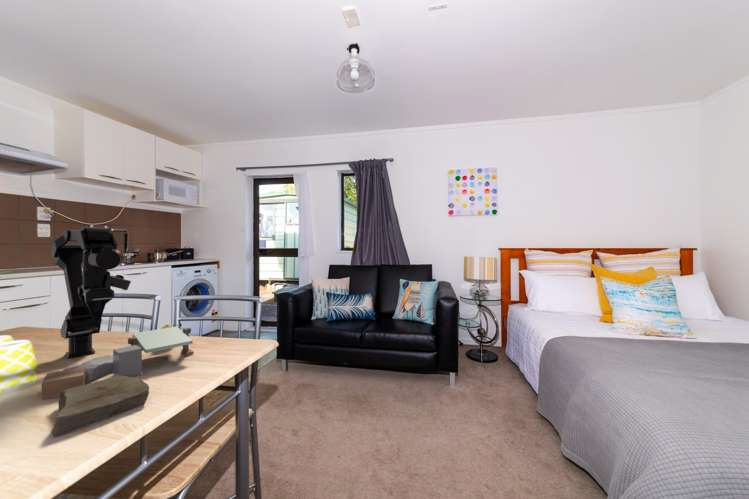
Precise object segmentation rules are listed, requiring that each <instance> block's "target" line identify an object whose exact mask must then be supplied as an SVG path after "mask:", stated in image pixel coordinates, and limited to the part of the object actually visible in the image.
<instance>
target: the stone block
mask: <svg viewBox="0 0 749 499" xmlns="http://www.w3.org/2000/svg"><path fill="white" fill-rule="evenodd" d="M80 367H86V382H92V381H95V380H97V379H100V378H102V377H104V376H106V375H109V374H110V373H113V354H108V355H104V356H98V357H95V358H91V359H89V360H86V361H84V362H81V363H80V364H75V365H73V366H69V367H66V368H64V369H62V370H68V369H74V368H80Z"/></svg>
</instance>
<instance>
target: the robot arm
mask: <svg viewBox="0 0 749 499" xmlns="http://www.w3.org/2000/svg"><path fill="white" fill-rule="evenodd" d="M68 242H78V243H77V244H75V243H69V244H68ZM117 249H118V242H117V240H116V238H115V236H114V233H113V231H111V230H110V228H108V227H98V226H97V227H93V226H91V227H90V226H82V227H80V228H78V229H72V228H71V229H65V230H64V231H63V234H62V235H61V236H60V237H58V238H56V239H54V241H53V244H52V247H51V250H50V252H51V253H50V255H51V257H52V258H53V260H54V264H55V265H56V266H57V267H58V268H60V269H62V271H63V276H64V281H65V282H64V283H65V286H66V292H67V298H68V303H69V304H68V305H69V310H68V312H67V314H66V315H65V316H64V320H63V323H62V325H61V327H60V337H61V338H63V339H65V340H66V339H67V341H68V345H67V346H68V349H67V351H66V352H65V356H66V358H68V359H70V358H75V357H81V356H86V355H91V354H95V353H96V351H95V349H94V348H93V334H94V335H95V334H100V331H101V325H102V322H103V319H102V317H103V313H104V309H105V307H106V305H107V303H109V302H110V301H113V299H114V298H115V290H114V289H112V288H117V289H122V291H128V290H129V288H130V285H131V283H132V280H129V279H125V277H124V275H121V274H116V275H115V276H112V275H111V272H110V271H109V270H113V269H115V268H116V267H118V266H119V265H120V262H121V257H120V254H119V253H118V252H116V251H115V250H117ZM111 287H112V288H111Z"/></svg>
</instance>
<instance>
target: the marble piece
mask: <svg viewBox="0 0 749 499" xmlns="http://www.w3.org/2000/svg"><path fill="white" fill-rule="evenodd" d="M149 395H150V386H149V384H148V383H146V381H144V380H143V379H141V378H139V377H127V376H114V377H113V376H111V377H107V378H104V379H101V380H97V381H94V382H91V383H87V384H86V383H85V385H82V386H78V387H74V388H70V389H67V390H63V391H62V392H61V393H60V396H59V400H58V413H57V416H56V418H55V421H54V422H55V423H54V424H53V428H52V431H51V434H52V435H53V436H54V437H61V436H63V435H66V434H68V433H71V432H76V431H77V430H80V429H83V428H85V427H88V426H91V425H93V424H96V423H99V422H102V421H104V420H108V419H110V418H112V417H116V416H118V415H121V414H123V413H126V412H128V411H131V410H134V409H138V408H140V407H142V406H145V405H146V404H145V403H146V402H147V400H148V397H149Z"/></svg>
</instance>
